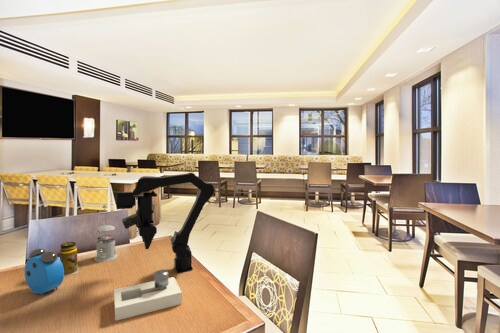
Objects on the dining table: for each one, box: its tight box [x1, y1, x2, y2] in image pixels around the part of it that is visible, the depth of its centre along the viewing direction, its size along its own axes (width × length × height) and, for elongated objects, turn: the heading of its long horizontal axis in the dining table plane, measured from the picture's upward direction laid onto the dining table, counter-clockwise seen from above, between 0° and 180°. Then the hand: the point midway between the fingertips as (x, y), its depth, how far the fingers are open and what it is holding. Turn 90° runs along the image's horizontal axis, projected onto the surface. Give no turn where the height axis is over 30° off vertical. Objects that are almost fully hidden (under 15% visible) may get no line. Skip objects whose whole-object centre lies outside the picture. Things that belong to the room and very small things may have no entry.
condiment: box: [59, 241, 80, 276], centre depth 112 cm, size 7×8×12 cm
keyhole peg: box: [153, 269, 169, 290], centre depth 93 cm, size 5×5×9 cm
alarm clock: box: [24, 247, 64, 295], centre depth 97 cm, size 13×6×15 cm, turn 67°
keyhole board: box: [113, 276, 183, 322], centre depth 91 cm, size 20×12×4 cm, turn 118°
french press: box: [93, 204, 119, 263], centre depth 127 cm, size 10×12×25 cm
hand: (145, 245), depth 111 cm, fingers open, 9 cm apart
